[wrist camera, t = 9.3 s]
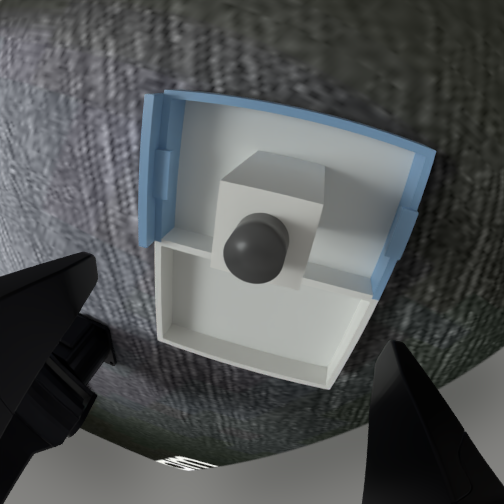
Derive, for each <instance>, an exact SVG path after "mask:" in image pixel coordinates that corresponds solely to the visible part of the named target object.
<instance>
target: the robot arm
mask: <svg viewBox="0 0 504 504" xmlns="http://www.w3.org/2000/svg"><path fill="white" fill-rule="evenodd" d="M97 280H98V273H97V265H96V258H95V256H94V255H92V254H90V253H87V252H80V253H76V254H73V255H70V256H66V257H63V258H59V259H56V260H52V261H49V262H46V263H42V264H39V265H36V266H33V267H29V268H26V269H23V270H20V271H16V272H13V273H10V274H7V275H4V276H1V277H0V504H3V503H4V502H5V500H6V498H7V496H8V495H9V493H10V491H11V490H12V488H13V486H14V484H15V483H16V481H17V480H18V478H19V477H20V475H21V473H22V472H23V470H24V468H25V467H26V465H27V464H28V462H29V461H30V459H31V458H32V456H33V455H34V454H35V453H38V452H41V451H44V450H46V449H49V448H52V447H56V446H58V445H61V444H62V443H63V442H64V440H65V439H66V437H71V436H73V435H74V434H75V433H76V432H77V431H78V429H79V428H80V427H81V425H82V424H83V422H84V421H85V419H86V417H87V415H88V413H89V411H90V409H91V407H92V405H93V403H94V401H95V399H96V397H97V394H95V393H94V392H92V391H91V390H90V389H89V388H88V387H86V385H87V384H88V383H89V381H90V380H91V378H92V377H93V376H94V374H95V373H96V372H97V370H98V369H99V368H100V366H101V365H102V363H103V362H106V363H108V364H110V365H112V366H115V365H116V363H117V362H116V358H115V354H114V350H113V345H112V341H111V336H110V331H109V329H108V328H107V327H105V326H103V325H101V324H99V323H96V322H94V321H92V320H90V319H88V318H86V317H84V316H81V315H79V314H78V313H79V312H80V310H81V308H82V307H83V305H84V303H85V302H86V300H87V298H88V297H89V295H90V293H91V292H92V290H93V288H94V287H95V285H96V283H97ZM366 461H367V462H366V472H365V482H364V491H363V499H362V504H504V486H503V484H502V483H501V482H500V480H499V479H498V477H497V476H496V475H495V473H494V472H493V471H492V469H491V468H490V467H489V465H488V464H487V463H486V461H485V460H484V458H483V457H482V456H481V454H480V453H479V451H478V450H477V448H476V446H475V445H474V444H473V442H472V440H471V439H470V437H469V436H468V434H467V432H464V428H463V427H462V425H461V423H460V422H459V421H458V419H457V417H456V416H455V415H454V413H453V412H452V410H451V408H450V407H449V405H448V404H447V402H446V401H445V400H444V398H443V397H442V395H441V394H440V393H439V391H438V389H437V388H436V387H435V385H434V384H433V382H432V381H431V379H430V378H429V377H428V375H427V374H426V372H425V371H424V370H423V368H422V367H421V366H420V364H419V363H418V361H417V360H416V359H415V357H414V356H413V355H412V353H411V352H410V351H409V349H408V348H407V346H406V345H405V344H404V343H403V342H400V341H396V340H390V341H389V342H388V343H387V344H386V346H385V347H384V349H383V351H382V352H381V354H380V355H379V357H378V359H377V361H376V364H375V371H374V380H373V388H372V396H371V403H370V411H369V430H368V447H367V460H366Z"/></svg>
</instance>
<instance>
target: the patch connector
mask: <svg viewBox="0 0 504 504" xmlns="http://www.w3.org/2000/svg"><path fill="white" fill-rule="evenodd" d="M324 181H325V166H324V165H321V164H317V163H313V162H309V161H304V160H300V159H296V158H292V157H287V156H283V155H278V154H274V153H269V152H264V151H260V150H258V151H257V152H255V153H254V154H253V155H252V156H250V157H249V158H248V159H246V160H245V161H244V162H243V163H241V164H240V165H239V166H237V167H236V168H235V169H234V170H232V171H231V172H230V173H229V174H227V175H226V176H225V177H224V178H222V179H221V180H220V185H219V193H218V201H217V210H216V218H215V227H214V236H213V245H212V254H211V264H210V267H211V268H215V269H218V270H222V271H226V272H229V273H232V274H233V275H234V276H236V277H237V278H238V279H240V280H242V281H244V282H247V283H252V284H263V283H271V284H274V285H278V286H282V287H286V288H290V289H293V290H297V291H299V289H300V285H301V282H302V279H303V276H304V272H305V269H306V265H307V262H308V259H309V255H310V252H311V248H312V245H313V241H314V238H315V234H316V231H317V227H318V223H319V220H320V216H321V212H322V209H323V205H324Z"/></svg>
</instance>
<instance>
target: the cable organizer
mask: <svg viewBox="0 0 504 504" xmlns="http://www.w3.org/2000/svg"><path fill="white" fill-rule="evenodd" d="M258 150H260V151H264V152H269V153H274V154H278V155H283V156H287V157H292V158H296V159H300V160H304V161H309V162H313V163H317V164H321V165H324V166H325V181H324V205H323V209H322V212H321V216H320V220H319V223H318V227H317V231H316V234H315V238H314V241H313V245H312V248H311V252H310V255H309V259H308V262H307V265H306V269H305V272H304V276H303V279H302V282H301V285H300V289H299V291H297V290H293V289H290V288H286V287H282V286H278V285H274V284H271V283H263V284H252V283H247V282H244V281H242V280H240V279H238V278H237V277H236V276H234V275H233V274H232V273H229V272H226V271H222V270H218V269H215V268H211V267H210V264H211V254H212V245H213V236H214V227H215V218H216V210H217V201H218V193H219V185H220V180H221V179H222V178H224V177H225V176H226V175H227V174H229V173H230V172H231V171H232V170H234V169H235V168H236V167H237V166H239V165H240V164H241V163H243V162H244V161H245V160H246V159H248V158H249V157H250V156H252V155H253V154H254V153H255V152H257V151H258ZM435 154H436V151H435V150H433V149H432V148H430V147H428V146H426V145H424V144H422V143H419V142H416V141H414V140H411V139H408V138H405V137H403V136H400V135H397V134H394V133H391V132H388V131H385V130H382V129H379V128H376V127H373V126H369V125H366V124H363V123H359V122H356V121H352V120H349V119H345V118H342V117H338V116H334V115H330V114H326V113H322V112H318V111H314V110H310V109H305V108H301V107H296V106H292V105H287V104H282V103H277V102H272V101H266V100H260V99H255V98H248V97H242V96H235V95H228V94H220V93H212V92H203V91H193V90H165V91H164V93H154V94H145V98H144V108H143V119H142V131H141V146H140V165H139V202H138V229H139V246H141V247H144V248H147V247H148V246H150V245H151V244H152V243H153V242H154V241H155V297H156V321H157V338H158V341H161V342H164V343H166V344H169V345H172V346H175V347H178V348H180V349H183V350H186V351H189V352H192V353H195V354H198V355H201V356H204V357H207V358H210V359H213V360H216V361H220V362H223V363H226V364H229V365H233V366H236V367H240V368H243V369H247V370H250V371H254V372H257V373H261V374H265V375H268V376H272V377H276V378H280V379H284V380H288V381H292V382H296V383H301V384H305V385H309V386H314V387H318V388H323V389H328V390H330V388H331V387H332V385H333V383H334V382H335V380H336V378H337V377H338V375H339V373H340V372H341V370H342V368H343V367H344V365H345V363H346V361H347V360H348V358H349V356H350V354H351V353H352V351H353V349H354V347H355V345H356V344H357V342H358V340H359V338H360V336H361V334H362V332H363V331H364V329H365V327H366V325H367V323H368V321H369V319H370V317H371V315H372V313H373V311H374V309H375V307H376V305H377V303H378V301H379V299H380V297H381V295H382V293H383V291H384V288H385V286H386V284H387V282H388V280H389V278H390V275H391V273H392V271H393V269H394V266H395V264H396V262H397V260H400V259H401V256H402V254H403V252H404V249H405V247H406V244H407V242H408V240H409V237H410V235H411V232H412V230H413V227H414V224H415V222H416V219H417V217H418V214H419V213H418V211H417V209H418V206H419V203H420V201H421V198H422V195H423V192H424V189H425V186H426V183H427V180H428V177H429V174H430V171H431V167H432V164H433V161H434V157H435Z"/></svg>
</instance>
